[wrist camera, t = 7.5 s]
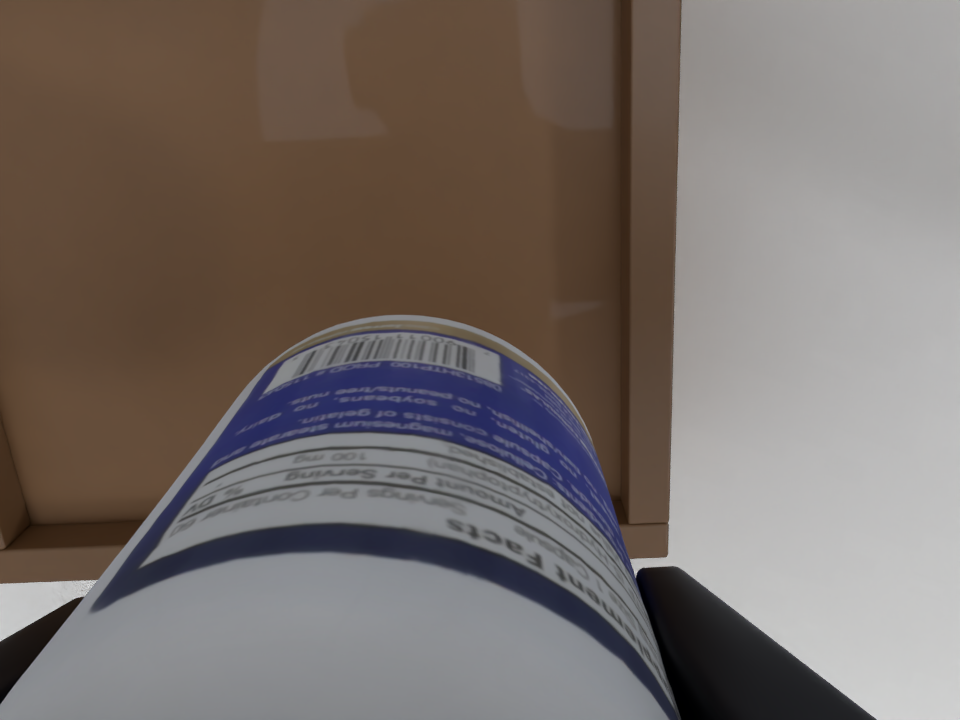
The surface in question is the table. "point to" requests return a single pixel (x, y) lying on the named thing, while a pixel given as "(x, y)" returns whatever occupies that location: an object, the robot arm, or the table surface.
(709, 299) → the table surface
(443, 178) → the wooden tray
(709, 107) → the table surface
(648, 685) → the pill bottle
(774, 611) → the table surface
